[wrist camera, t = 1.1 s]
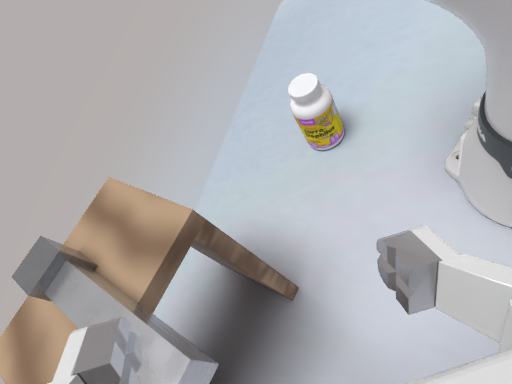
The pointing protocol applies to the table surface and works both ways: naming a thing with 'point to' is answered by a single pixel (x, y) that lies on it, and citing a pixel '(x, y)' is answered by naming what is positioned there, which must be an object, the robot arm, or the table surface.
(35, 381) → the wooden side table
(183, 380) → the bar
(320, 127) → the supplement bottle
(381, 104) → the table surface
